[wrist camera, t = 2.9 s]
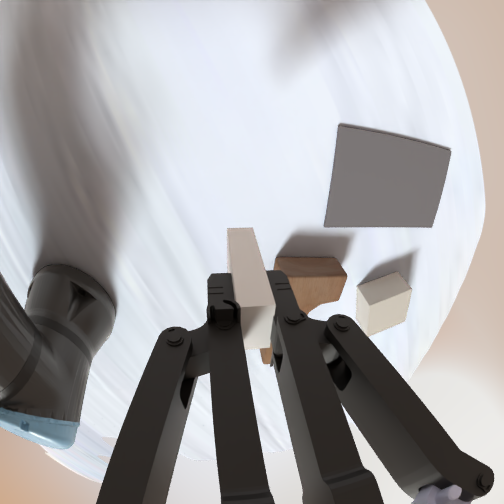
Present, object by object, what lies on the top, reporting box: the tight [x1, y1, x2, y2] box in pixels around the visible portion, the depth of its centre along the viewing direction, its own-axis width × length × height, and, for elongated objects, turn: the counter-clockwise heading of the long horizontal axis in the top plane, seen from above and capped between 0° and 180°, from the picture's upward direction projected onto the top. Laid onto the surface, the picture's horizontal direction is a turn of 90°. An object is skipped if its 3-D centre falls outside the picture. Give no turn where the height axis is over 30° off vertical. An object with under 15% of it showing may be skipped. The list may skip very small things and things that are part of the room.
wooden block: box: [260, 257, 347, 364], centre depth 40 cm, size 9×4×18 cm
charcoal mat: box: [324, 126, 451, 228], centre depth 33 cm, size 20×13×1 cm, turn 87°
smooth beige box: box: [356, 271, 412, 337], centre depth 42 cm, size 8×8×5 cm
